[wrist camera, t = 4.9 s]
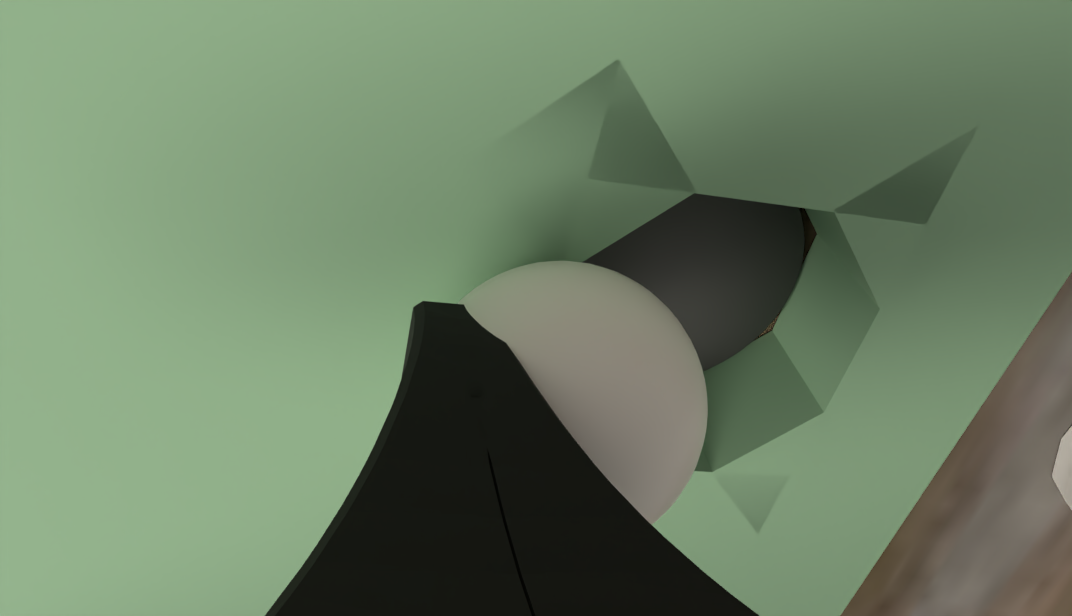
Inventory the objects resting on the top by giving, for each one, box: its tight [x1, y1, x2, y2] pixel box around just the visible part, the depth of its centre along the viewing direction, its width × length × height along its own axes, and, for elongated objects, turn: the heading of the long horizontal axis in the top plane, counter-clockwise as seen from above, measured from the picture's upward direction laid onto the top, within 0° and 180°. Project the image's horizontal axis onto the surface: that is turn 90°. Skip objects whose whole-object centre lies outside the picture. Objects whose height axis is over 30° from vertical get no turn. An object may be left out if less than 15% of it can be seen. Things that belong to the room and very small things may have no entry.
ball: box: [457, 261, 708, 525], centre depth 12 cm, size 4×4×4 cm
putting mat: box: [0, 0, 1072, 616], centre depth 14 cm, size 16×24×2 cm, turn 77°
